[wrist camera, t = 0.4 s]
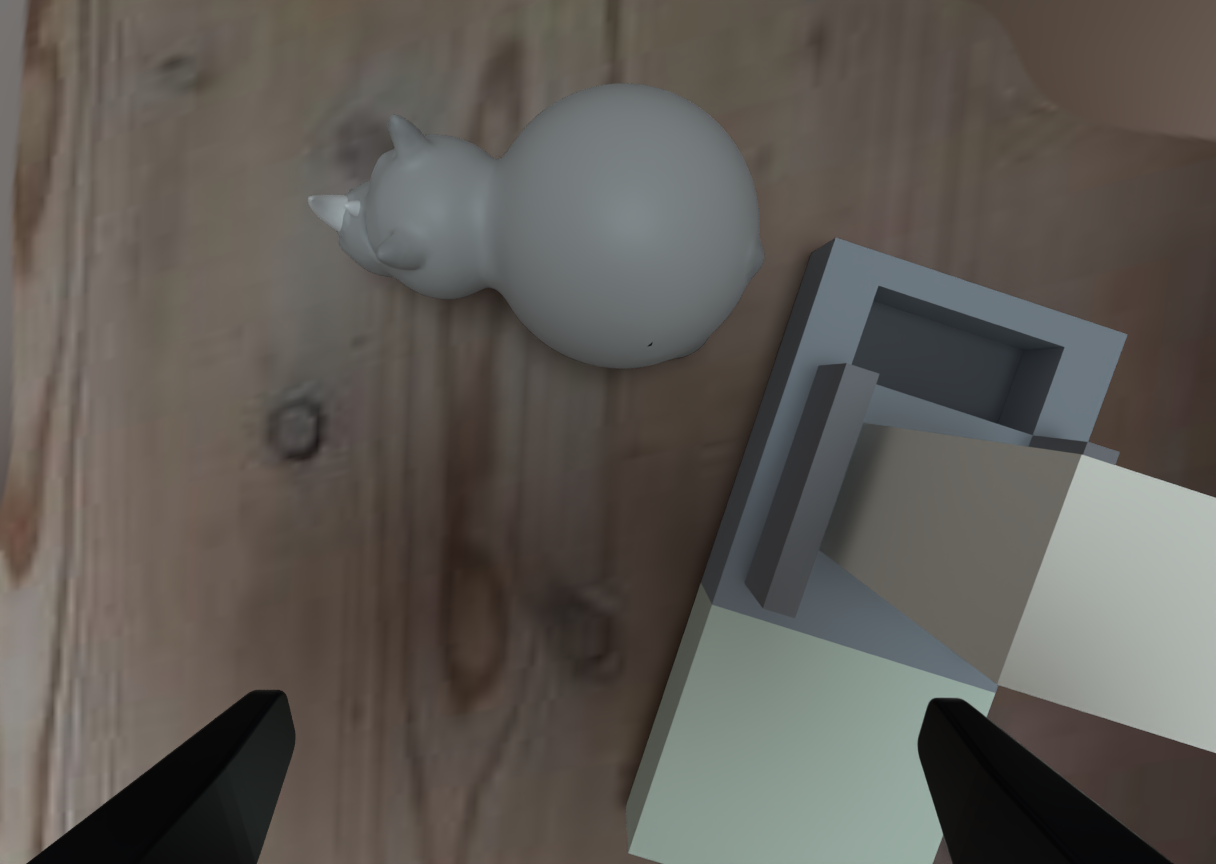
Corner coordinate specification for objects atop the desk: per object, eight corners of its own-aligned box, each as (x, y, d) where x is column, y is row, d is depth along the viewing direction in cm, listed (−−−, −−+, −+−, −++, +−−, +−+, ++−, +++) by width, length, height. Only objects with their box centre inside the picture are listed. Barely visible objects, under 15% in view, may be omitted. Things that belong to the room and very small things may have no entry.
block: (944, 589, 22) (1221, 754, 12) (819, 550, 22) (996, 684, 12) (990, 463, 22) (1309, 529, 12) (863, 422, 22) (1081, 453, 12)
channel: (876, 882, 26) (942, 1002, 21) (625, 807, 25) (631, 910, 20) (1073, 339, 24) (1195, 328, 19) (811, 252, 24) (866, 218, 19)
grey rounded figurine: (383, 127, 24) (254, -26, 15) (738, 171, 24) (818, 47, 15) (363, 342, 24) (226, 317, 15) (710, 383, 24) (772, 383, 16)
